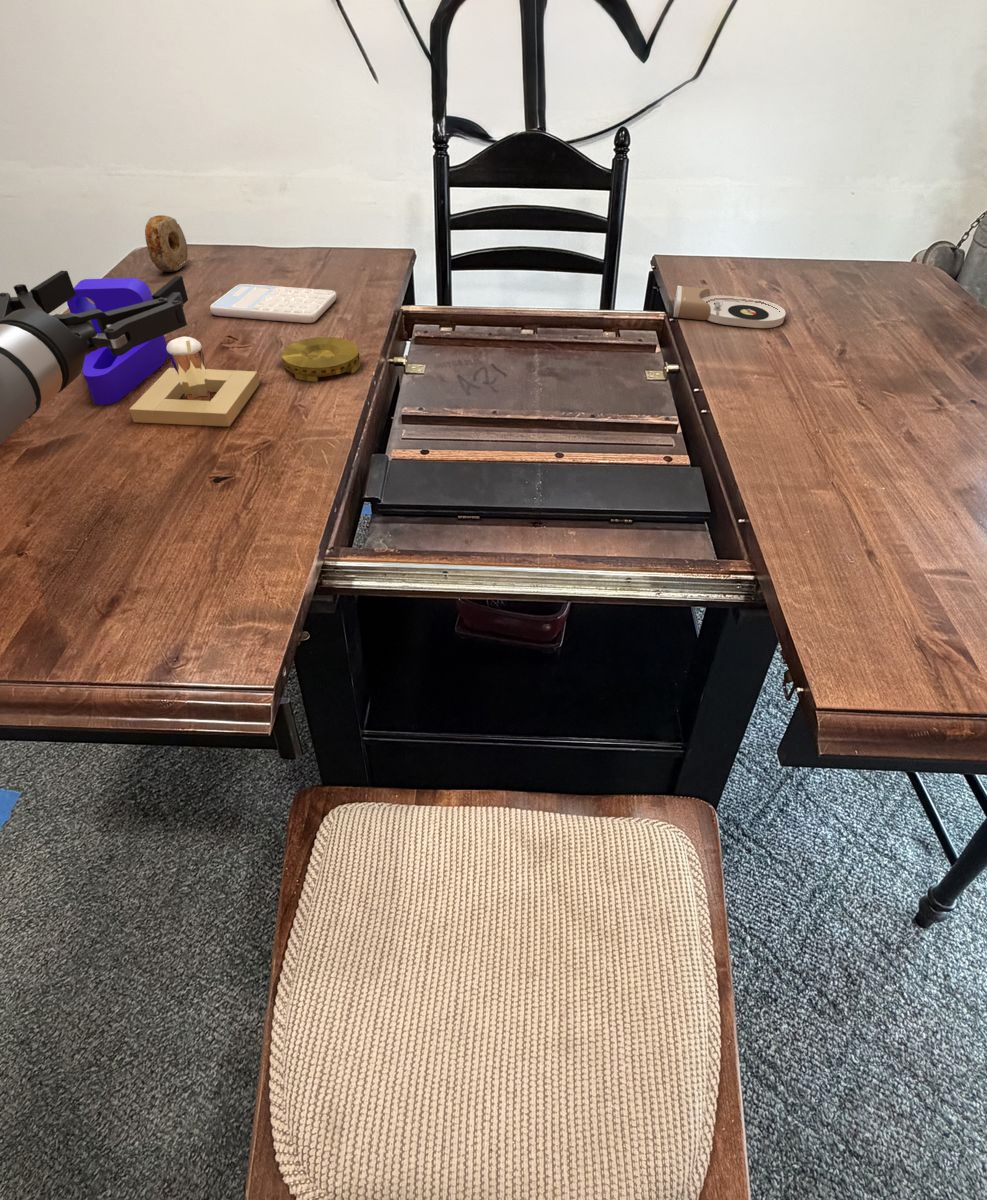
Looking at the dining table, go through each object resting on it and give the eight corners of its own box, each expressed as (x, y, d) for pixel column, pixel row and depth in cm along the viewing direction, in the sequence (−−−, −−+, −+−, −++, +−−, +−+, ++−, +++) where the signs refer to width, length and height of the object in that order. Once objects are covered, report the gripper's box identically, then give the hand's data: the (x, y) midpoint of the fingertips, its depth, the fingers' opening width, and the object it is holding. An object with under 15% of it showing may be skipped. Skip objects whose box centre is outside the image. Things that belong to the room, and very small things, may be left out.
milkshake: (190, 413, 101) (170, 344, 94) (178, 399, 104) (158, 331, 97) (222, 405, 103) (204, 336, 96) (209, 391, 106) (191, 324, 99)
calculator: (314, 324, 126) (312, 313, 125) (208, 316, 128) (206, 305, 127) (339, 299, 136) (337, 288, 135) (240, 291, 138) (238, 281, 137)
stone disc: (169, 278, 143) (154, 224, 137) (152, 276, 144) (136, 222, 137) (195, 262, 151) (182, 210, 144) (179, 261, 151) (165, 209, 145)
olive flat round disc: (372, 371, 112) (371, 357, 111) (299, 387, 107) (297, 374, 106) (342, 344, 120) (341, 331, 118) (273, 359, 115) (271, 346, 113)
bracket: (99, 355, 115) (71, 279, 107) (169, 352, 116) (146, 277, 108) (64, 406, 102) (29, 324, 94) (143, 403, 103) (115, 321, 95)
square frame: (133, 422, 99) (128, 409, 97) (172, 379, 109) (169, 367, 107) (229, 426, 98) (226, 413, 97) (260, 383, 108) (257, 371, 107)
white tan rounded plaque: (677, 282, 136) (785, 292, 134) (674, 299, 138) (780, 309, 136) (676, 303, 128) (791, 315, 125) (673, 320, 130) (785, 332, 127)
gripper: (-82, 391, 70) (34, 312, 86) (164, 404, 70) (236, 322, 85) (-125, 315, 65) (7, 246, 81) (140, 328, 65) (222, 256, 80)
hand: (125, 285), depth 83 cm, fingers open, 13 cm apart
